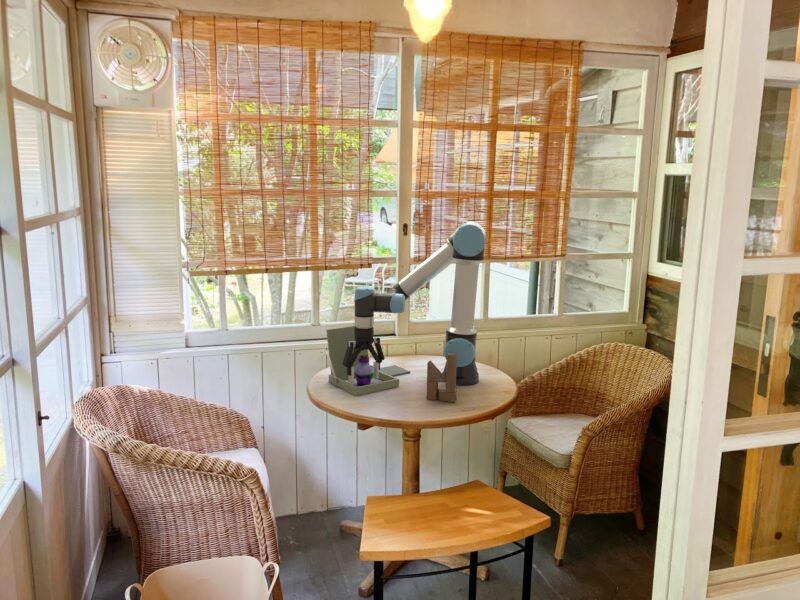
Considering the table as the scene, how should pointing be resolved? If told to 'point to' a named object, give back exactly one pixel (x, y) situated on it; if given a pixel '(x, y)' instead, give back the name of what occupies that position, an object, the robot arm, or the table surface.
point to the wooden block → (442, 380)
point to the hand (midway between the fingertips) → (363, 380)
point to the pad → (394, 370)
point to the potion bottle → (363, 371)
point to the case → (339, 372)
